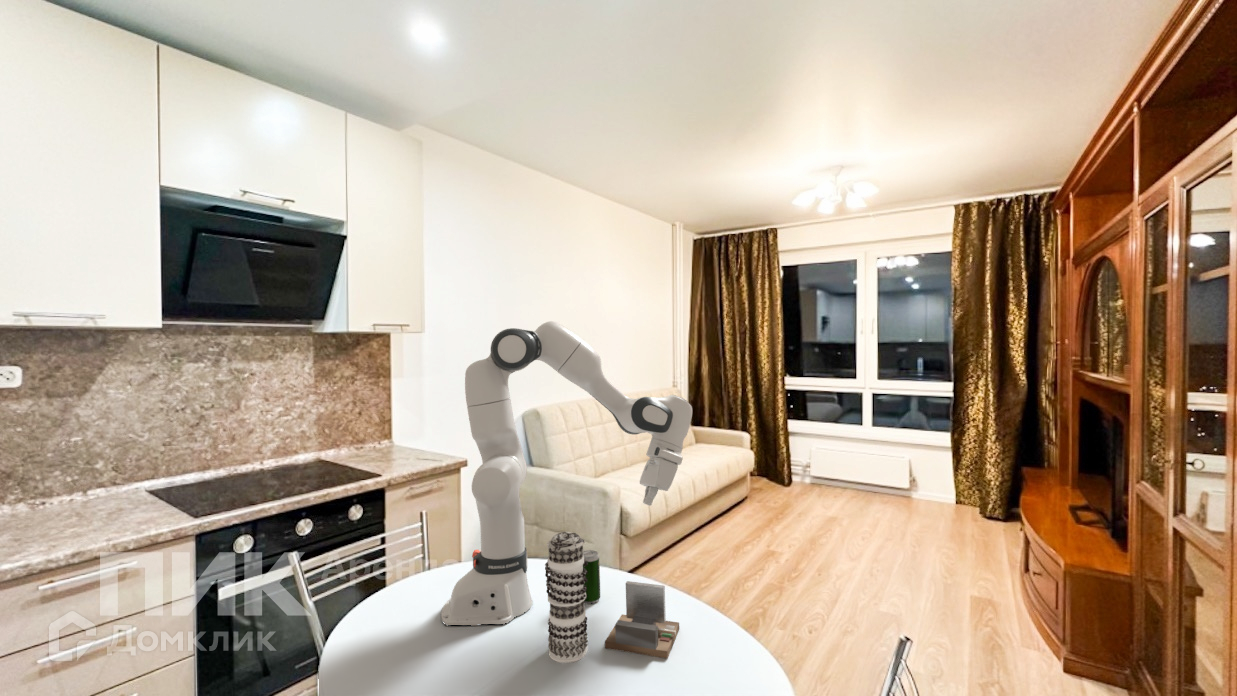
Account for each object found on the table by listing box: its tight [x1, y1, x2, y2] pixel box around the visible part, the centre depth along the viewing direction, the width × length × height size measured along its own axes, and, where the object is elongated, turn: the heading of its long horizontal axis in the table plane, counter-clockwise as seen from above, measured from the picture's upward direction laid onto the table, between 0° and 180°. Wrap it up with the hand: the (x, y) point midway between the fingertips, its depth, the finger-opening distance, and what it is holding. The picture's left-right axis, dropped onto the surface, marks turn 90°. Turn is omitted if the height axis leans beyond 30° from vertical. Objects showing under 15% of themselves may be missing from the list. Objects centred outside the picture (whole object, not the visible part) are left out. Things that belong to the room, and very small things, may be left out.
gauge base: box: [604, 614, 680, 660], centre depth 116 cm, size 12×14×6 cm
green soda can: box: [583, 549, 601, 605], centre depth 135 cm, size 5×5×12 cm
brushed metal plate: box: [625, 580, 676, 635], centre depth 116 cm, size 5×12×9 cm, turn 71°
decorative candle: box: [544, 531, 589, 664], centre depth 112 cm, size 9×9×25 cm
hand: (646, 504), depth 136 cm, fingers closed
